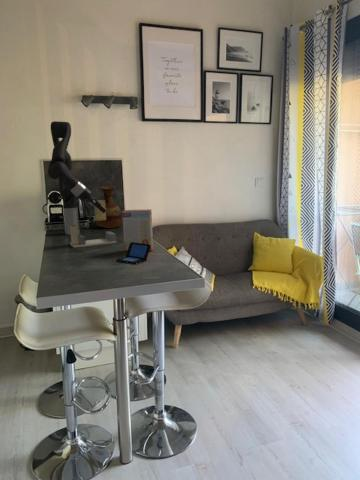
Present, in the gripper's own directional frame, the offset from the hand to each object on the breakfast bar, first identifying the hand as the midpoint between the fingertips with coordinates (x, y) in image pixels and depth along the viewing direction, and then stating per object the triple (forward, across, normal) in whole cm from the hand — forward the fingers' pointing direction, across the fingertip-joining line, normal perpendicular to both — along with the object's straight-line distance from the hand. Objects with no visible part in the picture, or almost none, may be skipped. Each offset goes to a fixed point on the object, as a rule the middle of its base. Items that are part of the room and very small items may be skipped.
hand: (103, 211), depth 218 cm
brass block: (+2, 0, +5) cm, 5 cm away
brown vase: (+25, +56, 0) cm, 61 cm away
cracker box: (+19, -33, +6) cm, 39 cm away
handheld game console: (+13, -52, +13) cm, 55 cm away
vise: (+8, 0, +18) cm, 19 cm away
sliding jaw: (+1, 0, +23) cm, 23 cm away
